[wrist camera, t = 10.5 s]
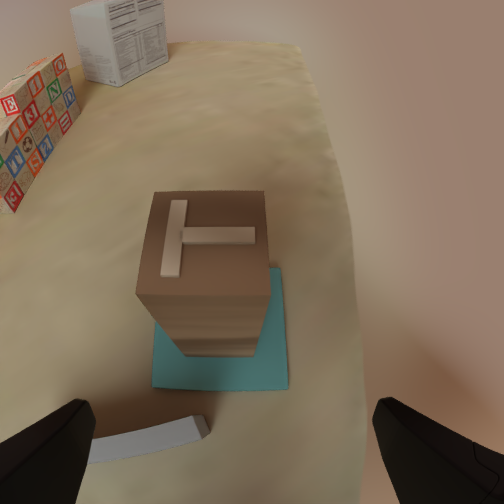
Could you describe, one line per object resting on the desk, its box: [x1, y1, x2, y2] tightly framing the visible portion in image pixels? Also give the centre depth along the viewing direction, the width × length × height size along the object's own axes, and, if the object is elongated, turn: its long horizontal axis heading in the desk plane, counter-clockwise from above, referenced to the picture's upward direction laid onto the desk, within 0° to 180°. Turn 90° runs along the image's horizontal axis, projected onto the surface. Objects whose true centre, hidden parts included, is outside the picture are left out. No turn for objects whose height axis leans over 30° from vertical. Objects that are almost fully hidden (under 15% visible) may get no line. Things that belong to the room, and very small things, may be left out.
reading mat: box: [152, 268, 288, 391], centre depth 22 cm, size 10×10×1 cm
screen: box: [87, 415, 210, 464], centre depth 15 cm, size 2×13×6 cm, turn 113°
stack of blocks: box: [0, 53, 81, 213], centre depth 28 cm, size 21×6×12 cm, turn 176°
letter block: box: [136, 191, 271, 358], centre depth 17 cm, size 5×5×12 cm
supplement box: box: [70, 0, 169, 87], centre depth 39 cm, size 13×13×18 cm
